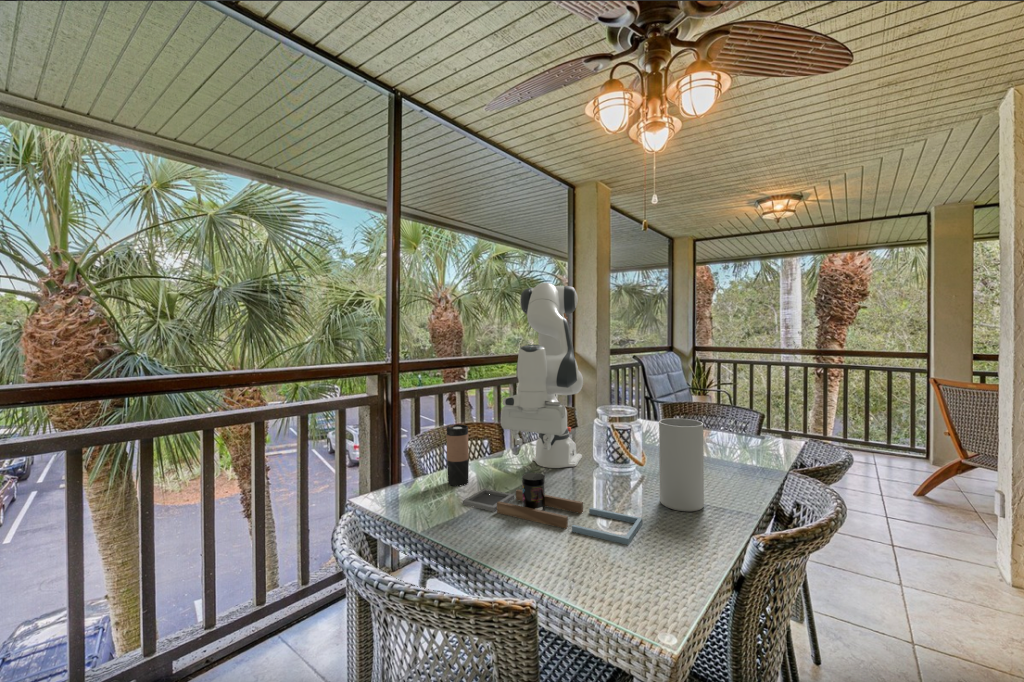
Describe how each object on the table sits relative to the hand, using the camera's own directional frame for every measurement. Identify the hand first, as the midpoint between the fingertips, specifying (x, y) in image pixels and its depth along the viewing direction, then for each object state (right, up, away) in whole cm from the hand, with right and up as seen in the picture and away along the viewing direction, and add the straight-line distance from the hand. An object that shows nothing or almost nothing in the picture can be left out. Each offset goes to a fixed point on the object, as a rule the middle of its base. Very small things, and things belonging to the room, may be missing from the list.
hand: (532, 446), depth 128 cm
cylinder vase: (+45, -19, +4) cm, 49 cm away
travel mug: (-25, -19, +26) cm, 41 cm away
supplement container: (0, -19, 0) cm, 19 cm away
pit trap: (-13, -19, +9) cm, 25 cm away
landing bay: (+19, -19, -11) cm, 29 cm away
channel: (+2, -19, -1) cm, 19 cm away
